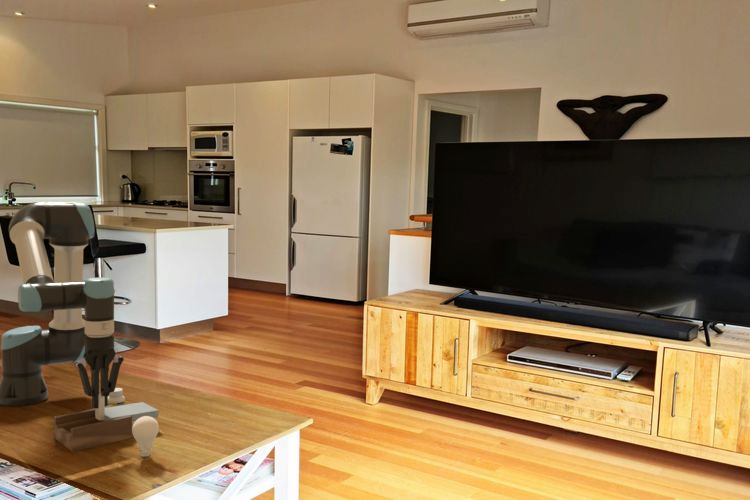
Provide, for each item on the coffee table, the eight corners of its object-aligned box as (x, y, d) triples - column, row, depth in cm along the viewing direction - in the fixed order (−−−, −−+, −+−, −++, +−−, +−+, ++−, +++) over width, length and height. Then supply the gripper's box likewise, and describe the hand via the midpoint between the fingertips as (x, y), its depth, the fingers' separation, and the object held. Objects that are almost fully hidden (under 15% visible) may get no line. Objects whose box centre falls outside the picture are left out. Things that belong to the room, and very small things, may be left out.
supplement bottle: (118, 425, 200) (118, 392, 200) (101, 423, 201) (101, 391, 201) (128, 419, 206) (128, 387, 205) (112, 417, 207) (112, 386, 206)
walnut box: (54, 441, 186) (54, 416, 186) (111, 428, 198) (111, 405, 197) (73, 455, 177) (72, 429, 177) (132, 441, 188) (131, 416, 188)
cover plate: (95, 416, 192) (95, 409, 192) (142, 408, 202) (142, 402, 202) (110, 425, 185) (110, 418, 185) (158, 417, 195) (158, 410, 195)
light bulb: (135, 453, 180) (135, 412, 179) (161, 453, 181) (161, 412, 180) (128, 463, 173) (128, 421, 173) (155, 462, 174) (155, 421, 173)
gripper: (80, 340, 179) (81, 427, 181) (128, 333, 188) (128, 417, 190) (69, 335, 184) (70, 420, 186) (116, 329, 193) (117, 410, 195)
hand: (99, 418), depth 188 cm, fingers closed
